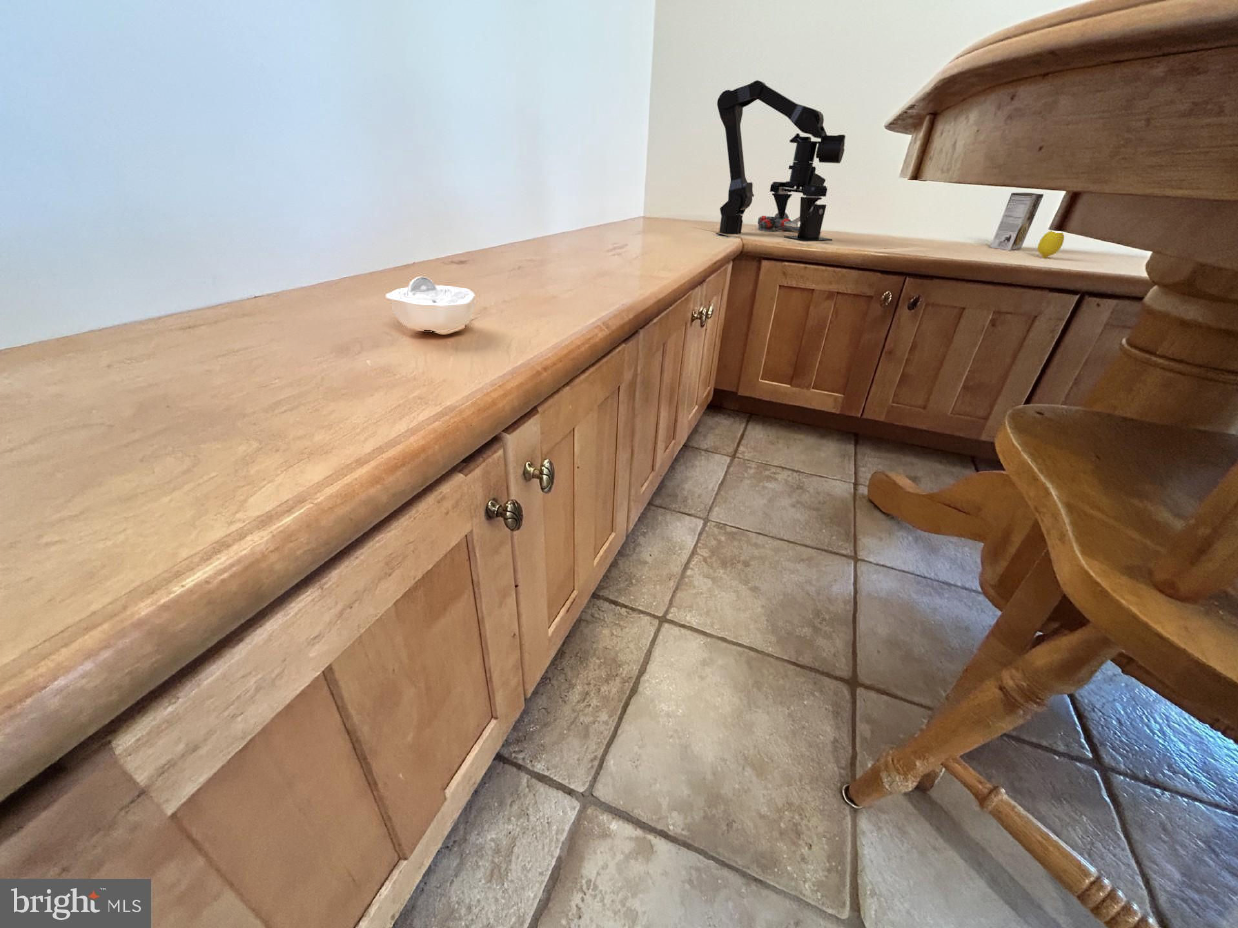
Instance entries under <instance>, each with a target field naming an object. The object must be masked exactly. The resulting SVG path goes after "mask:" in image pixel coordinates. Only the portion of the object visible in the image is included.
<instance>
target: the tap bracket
mask: <svg viewBox="0 0 1238 928" xmlns="http://www.w3.org/2000/svg"><path fill="white" fill-rule="evenodd" d="M826 209H827V204H821V203H820V204H819V203H817V202H816V203H815V204H814V205H813V209H812V214H811V216H808V217H806V219H805V221H804V222H803V223H800V222H799V226H798V227H799V231H797V235H783V238H784V239H785V238H786V239H789V240H793V241H798V242H803V243H804V242H832V241H833V239H832V238H828V237H823V236H821V234H820V232H821V230H822V226H823V221H824V218H825V214H826Z"/></svg>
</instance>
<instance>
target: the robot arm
mask: <svg viewBox="0 0 1238 928" xmlns="http://www.w3.org/2000/svg"><path fill="white" fill-rule="evenodd" d="M757 100H758V101H760V102H762V103H763V104H765V105H766V106H768V107H770V108H772V109H773V110H775V111H777V112H778V113H779V114H781V115H783V116H785V117H786V118H787V119H788V120H789V121H790V122H791V123H792V124H793V126H795V127H796V128H797V129H798V130H799V131H800V132H801V133H803V134H807V135H811V136H812V137H813V138H814V139H820V141H818V140H812V137H811V136H801V134H800V133H799V132H796V133H795V135H794V136H793V137H792V138H790V139H789V143H790V144H791V143H792V144H795V149H794V154H793V160H792V165H791V164H790V165H789V166H788V170H790V176H789V179H788V180H786V181H773V182H771V184H770V187H769V192H770V193H771V196H773V199H774V201H775V206H776V209H777V213H778V214H779V218H780V219H783V218H784V215H785V212H786V210H787V206H788V203H789V200H790V198H791V197H792V196H793V193H799V194H802V195H803V196H800V202H799V204H800V205H799V216H800V222H799V224H800V223H803V222H804V221H805V219H806V217H807V215H808V213H809V212H810V210H811V208H812V207H813V205H814V204H815V203H817V202H818V201H820V200H822V199H823V198H825V197H827V193H828V186H827V185H825V182H826V181H827V179H825V178H824V177H823V176H821V175H820V174H818V173H816V170H817V169H816V166H814V161H815V159H818V163H820V164H822V163H823V164H840V163H841V162H842V160H843V158H844V153H845V144H846V134H837V135H836V134H835V135H834V134H833V135H830V134H829V135H828V134H827V131H826V129H825V127H824V121H825V120H824V119H825V117H824V114H823V113H822V112H821V111H820V110H817V109H815V108H812V107H809V106H806V105H803V104H799V103H797V102H795V101H793V100H792V99H790V98H789V97H786V96H785V95H783V94H781V93H780V92H779V91H776V90H775V89H773V88H771V87H769V86H768V85H766V83H765V82H763V81H762V80H758V79H757V80H754V81H752V82H751V83H747V84H746V85H743V86H739V87H737V88H735V89H733V90H732V89H726V90H724V91H722V92H721V93H720V94H719V96H718V98H717V101H716V106H717V110H718V115H719V118H720V120H721V123H722V125H723V127H724V130H725V139H726V148H727V149H726V150H727V158H728V166H729V175H730V176H729V177H730V182H729V187H728V192H727V193H728V194H727V195H728V196H727V199H728V200H727V201H726V202H725V203H724V204H722V206H720V208H719V211H720V212H719V213H720V222H719V231H718V232H716V233H715V234H716V235H719V236H723V237H727V238H729V237H731V238H732V236H731V235H740V234H742V229H743V224H744V222H743V221H744V220H743V217H744V216H743V215H744V214H745V212H746V210H747V209H749V208H750V206H751V205H752V203H753V198H754V197H755V194H754V191H753V188H754V187H753V185H754V184H753V183H754V182H752V181H750V182H749V181H748V179H747V177H746V169H745V160H744V151H743V139H742V131H741V124H742V120H743V119H742V118H743V113H744V108H745V107H748V106H750V105H751V104H752V103H755V102H756V101H757Z"/></svg>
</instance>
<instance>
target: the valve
mask: <svg viewBox="0 0 1238 928" xmlns="http://www.w3.org/2000/svg"><path fill="white" fill-rule="evenodd" d="M785 221H789V222H791V221H792V220H791V219H790V217H789V215H788V213H787V212H786V211H785V215H784V218H783V219H780V218H779V214H778V212H777V213H776V214H775V215H774V216H767V215H761V216H759V217H758V218H757V225H758V226H757V230H758V231H760V232H767V233H776V232H779V231H782V232H792V231H794V232H798V231H799V227H800V226H799V225H798V226H797V227H792V226H786V225H784V222H785ZM821 233H822V232H821V231H820V235H821Z"/></svg>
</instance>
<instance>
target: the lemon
mask: <svg viewBox="0 0 1238 928" xmlns="http://www.w3.org/2000/svg"><path fill="white" fill-rule="evenodd" d="M1064 241H1065V235H1064V233H1063V232H1062V233H1055V232H1052V230H1050V231H1048V232H1046V233H1045V234H1043V236H1042V237H1041V239H1039V242H1038V244H1037V252H1038V253H1039V254H1040V255H1041V256H1042V258H1043V259H1046V258H1048V257H1049V256H1050V257H1051V256H1053V255H1055V254H1056V253H1058V252H1059V251H1060V249H1061V248H1062V247H1063V245H1064Z"/></svg>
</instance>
